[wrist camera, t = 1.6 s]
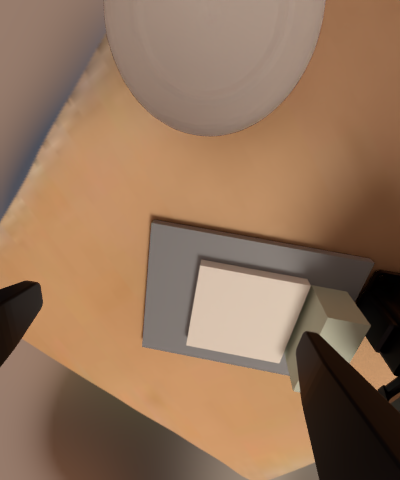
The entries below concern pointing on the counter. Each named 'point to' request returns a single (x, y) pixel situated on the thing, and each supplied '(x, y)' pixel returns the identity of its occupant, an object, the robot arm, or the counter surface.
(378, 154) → the counter surface
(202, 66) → the sprinkles bottle
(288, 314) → the board
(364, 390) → the robot arm
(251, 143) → the counter surface
